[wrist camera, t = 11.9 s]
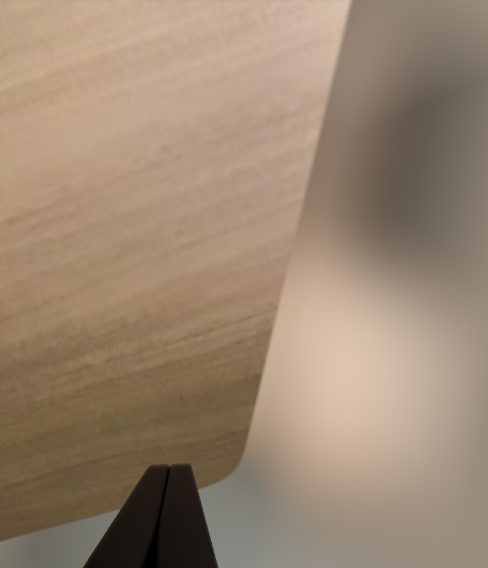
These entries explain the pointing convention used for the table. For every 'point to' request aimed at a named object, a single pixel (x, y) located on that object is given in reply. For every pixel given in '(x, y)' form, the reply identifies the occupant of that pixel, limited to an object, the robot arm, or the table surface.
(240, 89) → the table surface
